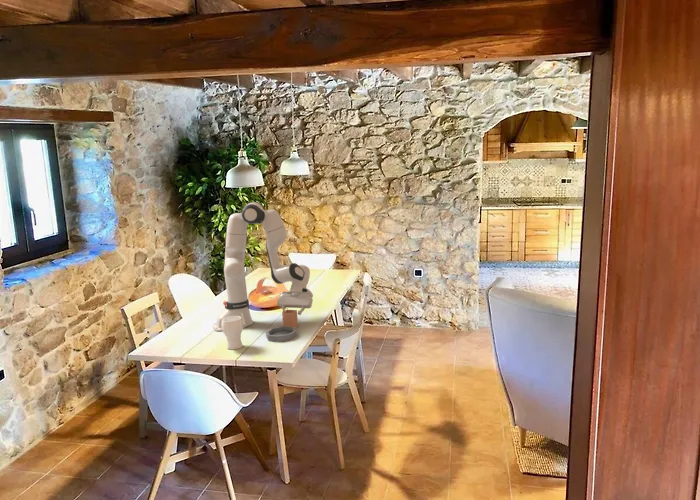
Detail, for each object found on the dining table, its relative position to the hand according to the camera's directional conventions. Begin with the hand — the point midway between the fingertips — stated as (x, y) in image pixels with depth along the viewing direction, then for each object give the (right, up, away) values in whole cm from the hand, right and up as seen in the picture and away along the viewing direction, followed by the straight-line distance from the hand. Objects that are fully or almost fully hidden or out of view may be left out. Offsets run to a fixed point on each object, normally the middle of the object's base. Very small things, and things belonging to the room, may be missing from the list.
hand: (291, 314), depth 320 cm
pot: (0, -7, 0) cm, 7 cm away
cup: (-26, -14, -25) cm, 39 cm away
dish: (-4, -10, -15) cm, 18 cm away
